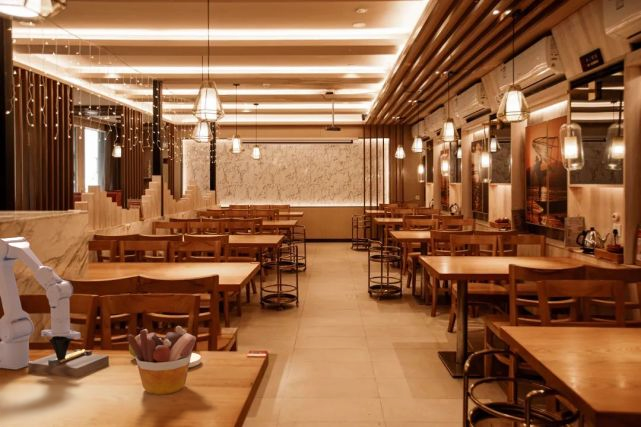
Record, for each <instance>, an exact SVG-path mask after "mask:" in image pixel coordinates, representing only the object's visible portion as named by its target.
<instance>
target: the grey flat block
mask: <svg viewBox="0 0 641 427" xmlns="http://www.w3.org/2000/svg"><path fill="white" fill-rule="evenodd" d="M79 350H81V349H74V351H69V350H67V352H66V355H68V354H71V353H74V352H77V351H79ZM109 357H110V355H109V354H108V355H107V354H106V355H105V354H97V353H92V350H91V349H90V350H86V353H85V354H82V355H79V356H77V357H74V358H71V359H68V360H66V361H63V362H59V360H54V359H57V356H56V353H55V352H54V353H53V354H49V355H47V356H43V357H40V358H38V359H35V360H31V361H32V362H29V363H28V366H27V368H28V373H37V374H44V375H52V376H53V375H54V376H58V377H59V376H60V377H69V378H75V379H76V378H79V377H82V376H84V375H86V374H89V373H91V372H93V371H96V370H99V369H101V368H104V367H106V366H107V365H109V364H110V360H109V359H110V358H109Z"/></svg>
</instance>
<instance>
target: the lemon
mask: <svg viewBox="0 0 641 427" xmlns="http://www.w3.org/2000/svg"><path fill="white" fill-rule="evenodd" d="M137 336H138V335H136V336H134V337H135V339H136V340H137V338H136V337H137ZM128 351H129V354H130V355H131V356H133V357H135V356H136V354H135V352H134V351H133V349H132V347H131V345H130V343H129V345H128Z"/></svg>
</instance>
